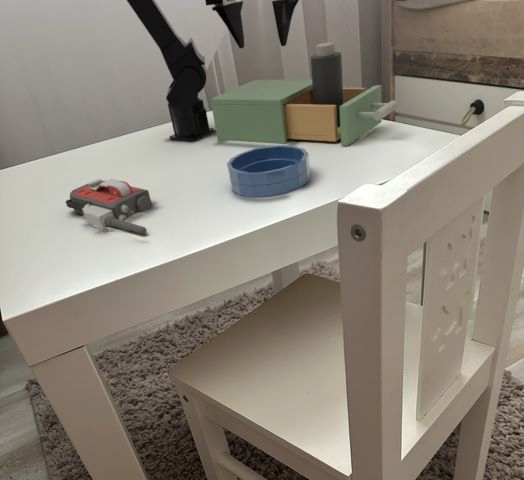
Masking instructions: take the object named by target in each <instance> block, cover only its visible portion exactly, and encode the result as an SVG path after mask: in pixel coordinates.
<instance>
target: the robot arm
mask: <svg viewBox="0 0 524 480" xmlns="http://www.w3.org/2000/svg"><path fill="white" fill-rule="evenodd" d="M299 1H300V0H273V1H271V3H272V9H273V15H274V19H275V25H276V30H277V36H278V40H279V42H280V46H281V47H285V46H286V45H287V43H288V38H289V33H290V27H291V23H292V19H293V14H294V13H295V12H294V11H295V8H296V6H297V5H298V3H299ZM126 2H127V3H128V5H129V6H130V7H131V9H132V10H133V12H134V13H135V15H136V16H137V18H138V20H140V21H139V22H141V24H142V25H143V27H144V28H145V30H146V31H147V33H148V34H149V35H150V37H151V39H152V40H153V41H154V43H155V44H156V46H157V47H158V48H159V50H160V53H161V55H162V58H163V60H164V62H165V65H166V68H167V70H168V71H169V73H170V76H171V78H172V82H171V84H170V85H169V86H168V88H167V93H166V97H165V98H166V99H165V100H166V101H167V108H168V111H169V116H170V121H171V125H172V129H173V134H171V135H170V136H169V140H172V141H173V140H176V141H186V142H188V141H189V142H194V141H197V140H199V139H201V138H202V137H205V136H207V135H209V134H211V133H213V132H214V131H215V129H214V127H210V124H209V118H208V113H207V109H206V108H205V105H204V99H202V98H200V97H199V94H200V92H202V90H203V89H204V88H205V86H206V84H207V68H206V58H205V56H204V55H202V54H201V53H200V51H199V49H198V48H197V46H196V44H195V42H194V39H193V38H189V39H188V40H187V42H185V40H184V39H183V38H181V37H180V36H179V34H178V33H177V32H176V30H175V29H174V28H173V25H172V23H170V22H169V20H168V18H167V17H166V15H165V14H164V12H163V11H162V9H161V7H160V6H159V5H158V3H157V2H156V0H126ZM204 2H205V6H212V7H211V10H212V11H215V12H216V13H217V15H218V16H219V17H220V19H221V20H222V22H223V23H224V25H225V26H226V27H227V29H228V31H229V32H230V35H231V36H232V38H233V39H234V41H235V43H236V45H237V46H238V48H239V49H244V48H245V35H244V28H243V27H244V26H243V21H242V20H243V19H242V9H243V6H244V5H243V4H244V1H243V0H240V1H237V0H204Z"/></svg>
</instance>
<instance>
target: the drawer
mask: <svg viewBox="0 0 524 480" xmlns="http://www.w3.org/2000/svg"><path fill="white" fill-rule="evenodd" d="M382 90H383V89H382V85H381V84H378V85H377V84H374V85H373V86H371V87H370V88H368V89H367V88H366V87H343V105H341V106H340V127H338V128H337V110H336V105H314V100H313V89H312V90H310V91H308V92H306V93H304V94H302V95H300V96H298V97H296V98H294V99H292V100H290V101H288V102H286V103H284V104H283V106H284V115H285V125H286V135H287V139H293V140H303V141H305V140H306V141H319V142H337V141H339V140H340V145H341V146H344V147H345V146H346V147H348V146H349V145H351V144H353V143H354V142H355V141H357V140H358V139H360V138H361V137H363V136H364V135H366V134H368V132H370V131H372V129H374V128H375V127H377V126H378V125H380V124H381V123H382V119H383V118H385V117H386V116H388V115H389V114H391V113H392V112H394V111H395V110H396V109H397V108H398V105H399V104H398V102H397V101H396V100H390V101H389V102H383V101H382V97H383V95H382V93H383V92H382Z"/></svg>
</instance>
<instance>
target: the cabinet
mask: <svg viewBox="0 0 524 480" xmlns="http://www.w3.org/2000/svg"><path fill="white" fill-rule="evenodd" d="M312 89H313V86H312V78H286V79H284V78H281V79H279V78H277V79H275V78H274V79H273V78H272V79H270V78H269V79H253V80H250V81H248V82H246V83H243V84H242V85H239V86H237V87H235V88H233V89H230V90H228V91H225V92H223V93H221V94H218V95H216V96H214V97H211V98H210V99H209V100H210V104H211V110H212V116H213V122H214V127H215V132H216V137H217V144H218V145H219V144H221V143H223V142H224V141H232V142H247V143H260V144H261V143H263V144H277V145H279V144H280V145H286V144H288V143H290V142H291V141H293V140H294V139H287V135H286V125H285V115H284V106H283V104H284V103H286V102H288V101H290V100H292V99H294V98H296V97H298V96H300V95H302V94H304V93H306V92H308V91H310V90H312Z"/></svg>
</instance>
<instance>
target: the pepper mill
mask: <svg viewBox="0 0 524 480" xmlns="http://www.w3.org/2000/svg"><path fill="white" fill-rule="evenodd" d="M315 49H316V54H313V55H312V56H310V71H311V79H312V86H313V100H314V105H336V110H337V128H338V127H340V106H341V105H343V88H344V87H343V86H344V85H343V62H342V61H343V59H342V52H340V51H336V50H335V49H336V48H335V42H333V41H331V42H329V41H328V42H322V43H318V44H317V45H315Z"/></svg>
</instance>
